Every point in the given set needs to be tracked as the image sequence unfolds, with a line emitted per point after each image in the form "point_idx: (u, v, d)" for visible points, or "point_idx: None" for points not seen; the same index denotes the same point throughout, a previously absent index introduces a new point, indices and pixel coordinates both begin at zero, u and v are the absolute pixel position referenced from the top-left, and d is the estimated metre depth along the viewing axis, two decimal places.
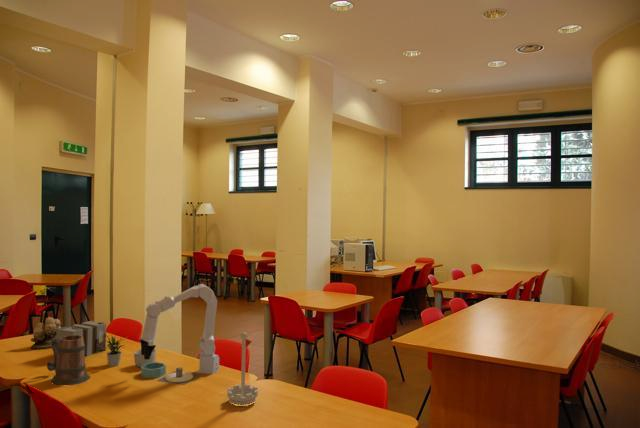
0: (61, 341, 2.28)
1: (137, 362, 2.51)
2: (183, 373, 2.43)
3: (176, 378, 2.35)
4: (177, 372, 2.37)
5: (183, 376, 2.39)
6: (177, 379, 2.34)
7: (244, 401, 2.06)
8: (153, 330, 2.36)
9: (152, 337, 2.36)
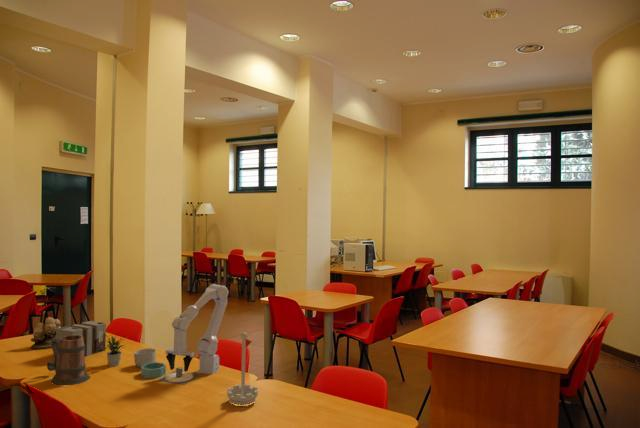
0: (61, 341, 2.28)
1: (137, 362, 2.51)
2: (183, 373, 2.43)
3: (176, 378, 2.35)
4: (177, 372, 2.37)
5: (183, 376, 2.39)
6: (177, 379, 2.34)
7: (244, 401, 2.06)
8: (185, 342, 2.39)
9: (185, 349, 2.39)
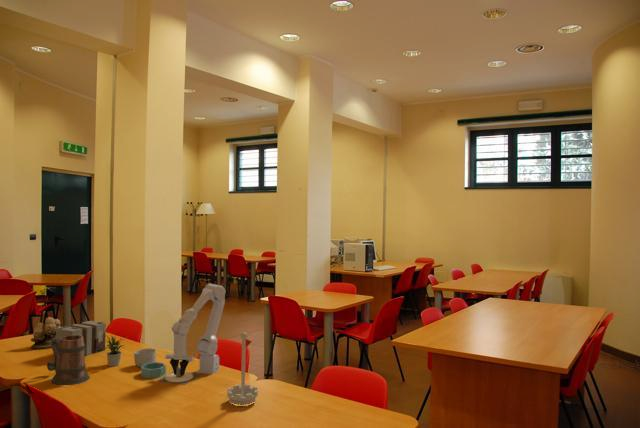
0: (61, 341, 2.28)
1: (137, 362, 2.51)
2: None
3: (176, 378, 2.35)
4: (177, 372, 2.37)
5: (183, 376, 2.39)
6: (177, 379, 2.34)
7: (244, 401, 2.06)
8: (185, 347, 2.39)
9: (185, 353, 2.39)
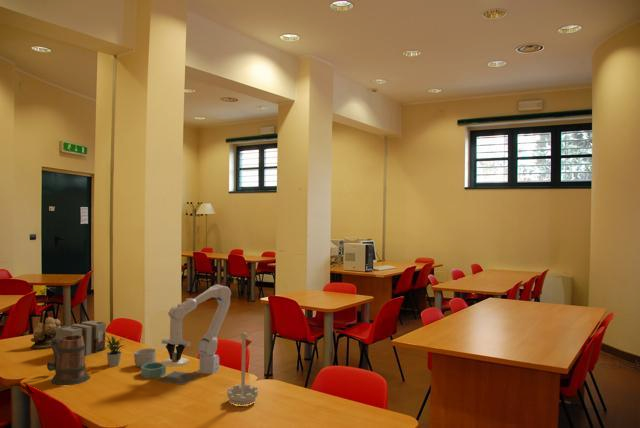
0: (61, 341, 2.28)
1: (137, 362, 2.51)
2: None
3: (172, 363, 2.36)
4: (173, 357, 2.37)
5: (179, 361, 2.39)
6: (173, 363, 2.35)
7: (244, 401, 2.06)
8: None
9: (181, 338, 2.39)
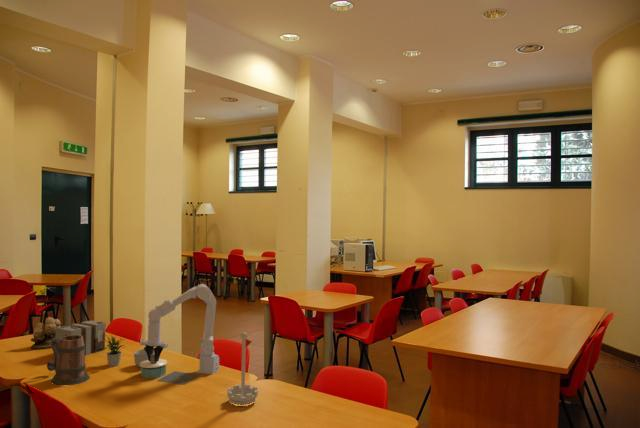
0: (61, 341, 2.28)
1: (137, 362, 2.51)
2: None
3: (150, 364, 2.39)
4: (151, 358, 2.41)
5: (157, 362, 2.42)
6: (151, 365, 2.38)
7: (244, 401, 2.06)
8: None
9: None
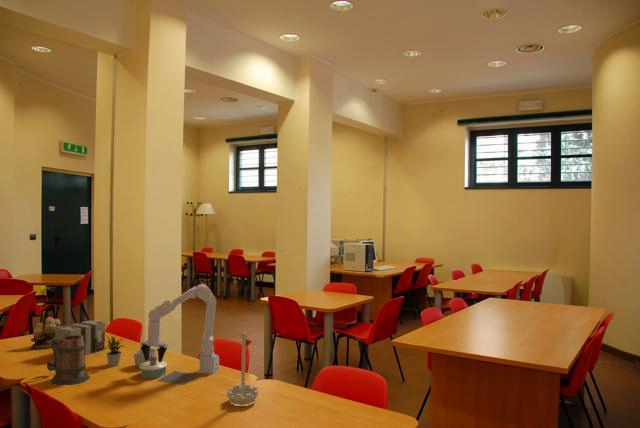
0: (61, 341, 2.28)
1: (137, 362, 2.51)
2: None
3: (150, 366, 2.39)
4: (151, 360, 2.41)
5: (157, 364, 2.42)
6: (151, 367, 2.38)
7: (244, 401, 2.06)
8: None
9: None
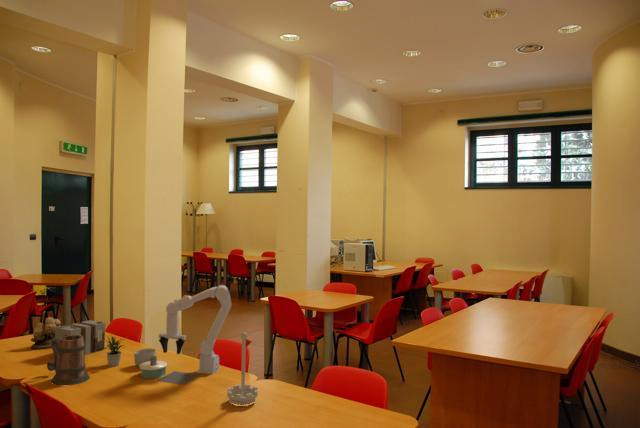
0: (61, 341, 2.28)
1: (137, 362, 2.51)
2: (158, 361, 2.47)
3: (150, 366, 2.39)
4: (151, 360, 2.41)
5: (157, 364, 2.42)
6: (151, 367, 2.38)
7: (244, 401, 2.06)
8: None
9: None
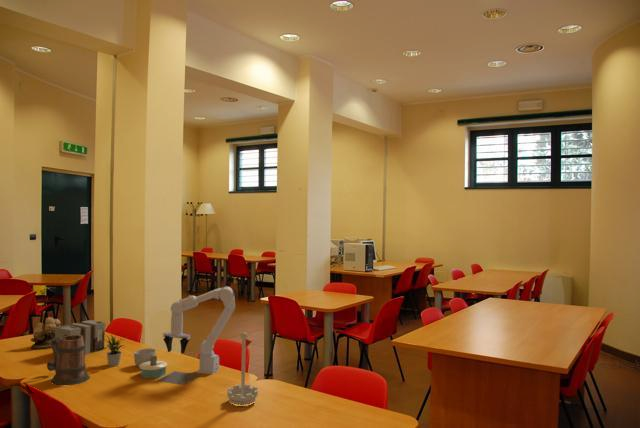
0: (61, 341, 2.28)
1: (137, 362, 2.51)
2: (158, 361, 2.47)
3: (150, 366, 2.39)
4: (151, 360, 2.41)
5: (157, 364, 2.42)
6: (151, 367, 2.38)
7: (244, 401, 2.06)
8: (182, 325, 2.48)
9: (182, 332, 2.48)
